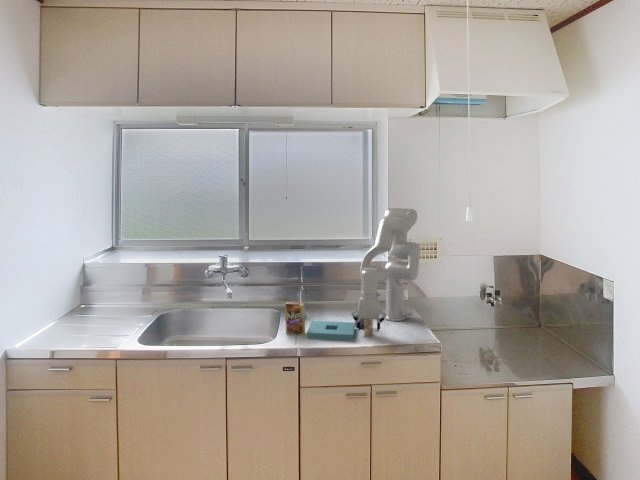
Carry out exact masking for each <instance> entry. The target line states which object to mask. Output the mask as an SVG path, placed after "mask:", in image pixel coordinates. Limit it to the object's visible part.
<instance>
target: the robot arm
mask: <svg viewBox="0 0 640 480" xmlns="http://www.w3.org/2000/svg"><path fill="white" fill-rule="evenodd" d="M417 221H418V212H417V211H416V210H415V209H414V208H407V207H406V208H402V207H393V208H392V207H391V208H387V209H386V210H385V211H384V217H383V218H381V220H380V222H379V224H378V230H377V233H376V238H375V242H374V245H373V246H372V247H371V248H370V249H369V250H368V251H367V252H366V253H365V254H364V256H363V258H362V260H361V264H360V269H359V276H360V278H361V280H360V281H361V283H360V284H361V285H360V288H361V289H360V291H361V293H360V297H359V300H358V307H357V309H355V310H353V311H351V317H352V318H353V320H354V322H355V321H356V322H357V328H356V329H358V331H361V329H360V320H361V319H373V320H375V321H376V322H377V323H376V331H377V332H379V331H380V329H381V324H382V322H383V321H384V320H386V321H390V322H391V321H392V322H398V321H399V322H402V321H405V320H406V319H407V316H413V312H412V311H410V310H405V308H404V307H405V302H404V301H405V285H404V282H403V280H404V281H410V282H413V281H415V280H416V279H417V278H418V275H419V266H420V265H419V264H420V256H421V255H420V254H421V249H420V246H419V244H418V243H417V242H414V241H408V232H409V231H410V230H412V228H413V227H414V225H415V224H416V223H417ZM387 252H389V255H390V257H392V258H394V259H400V260H389V261H387V262H386V263H385V266H384V267H380V266H375V265H371V262H372V261H373V259H375V258H376V257H377V256H379V255H381V254H383V253H387ZM401 260H408V261H401ZM383 283H385V284H386V288H385V289H386V290H385V292H386V293H385V295H386V296H385V312H384V311H383V310H380V300H379V297H381V293H379V292H378V284H383ZM356 313H358V318H357V317H356V316H355V314H356ZM380 315H381V318H380Z"/></svg>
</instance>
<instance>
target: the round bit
mask: <svg viewBox="0 0 640 480" xmlns="http://www.w3.org/2000/svg"><path fill="white" fill-rule="evenodd" d="M355 316H356V317H357V318H358V313H356V314H355ZM354 323H355V328H356V329H358V328H357V322H356V321H355V320H354ZM362 329H364V319H361V320H360V330H362Z"/></svg>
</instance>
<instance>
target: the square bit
mask: <svg viewBox="0 0 640 480" xmlns="http://www.w3.org/2000/svg"><path fill="white" fill-rule="evenodd" d="M373 324H374V319H364V330H363V331H364V332H363V335H364V338H365V337H367V338H368V337H369V338H374V337H373V336H374V335H373V333H374V331H373V330H374V325H373Z"/></svg>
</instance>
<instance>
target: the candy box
mask: <svg viewBox="0 0 640 480" xmlns="http://www.w3.org/2000/svg"><path fill="white" fill-rule="evenodd" d="M285 333H286V334H293V335H300V336H303V335H304V334H305V333H306V303H304V302H296V301H286V303H285Z"/></svg>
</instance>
